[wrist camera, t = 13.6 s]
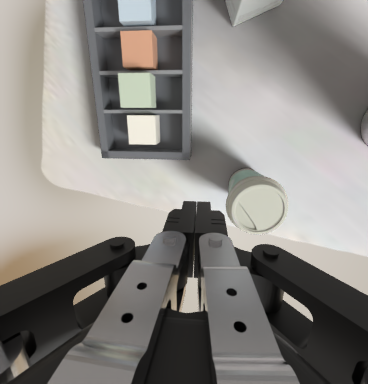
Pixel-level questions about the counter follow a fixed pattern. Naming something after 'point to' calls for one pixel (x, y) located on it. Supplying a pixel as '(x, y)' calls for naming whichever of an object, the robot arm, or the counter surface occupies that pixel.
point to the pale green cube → (137, 90)
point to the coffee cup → (255, 202)
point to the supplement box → (248, 9)
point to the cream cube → (143, 129)
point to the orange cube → (139, 50)
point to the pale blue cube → (137, 13)
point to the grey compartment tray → (164, 77)
